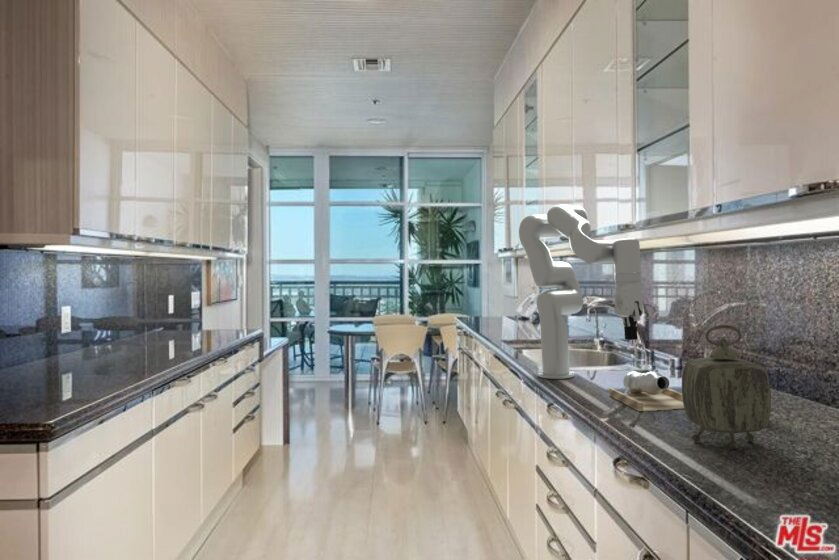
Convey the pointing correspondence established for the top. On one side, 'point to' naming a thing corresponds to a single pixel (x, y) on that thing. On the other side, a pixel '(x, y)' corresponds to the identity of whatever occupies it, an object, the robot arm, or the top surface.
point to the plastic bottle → (645, 382)
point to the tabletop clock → (726, 392)
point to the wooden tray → (650, 400)
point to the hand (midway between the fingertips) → (631, 339)
